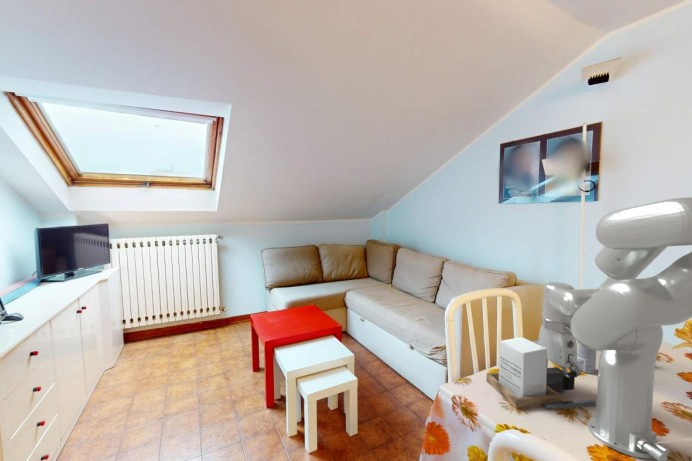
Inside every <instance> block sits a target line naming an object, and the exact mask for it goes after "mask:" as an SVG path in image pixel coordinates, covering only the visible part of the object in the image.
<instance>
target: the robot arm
mask: <svg viewBox="0 0 692 461" xmlns="http://www.w3.org/2000/svg"><path fill="white" fill-rule="evenodd" d="M595 237H596V240H597V241H598V242H599V243H600V244H601V245H602V246H604V247H602V249H601V250H600V251H599V252H598V253H597V255H596V256H595V258H594V262H595V265H596V267H597V269H599V270H600V271H601V272H602V273H603V274H604V275H606V276H607V278H606V279H605V280H604V282H602V283H601V285H600V286H598V287H597V288H583V289H582V288H581V289H575V288H574V287H573V286H572V285H570V284H567V283H564V282H553V281H552V282H547V283H545V284H544V286H543V295H542V296H543V298H542V315H541V317H542V320H541V321H542V322H541V325H540V329H539V332H538V333H539V334H538V340H532V342H533V343H536V344H538V345H540V346H542V347H545V348H547V368H549V367H548V362H551V363H552V364H554V365H556V367H558V368H561V370H562V371H563V372H564V374H565V376H563V385H562V388H563V390H564V391H573V390H575V379H576V378H578V377H579V376H581V374H582V373H583V372H582V371H583V367H582V366H581V365H580V363H579V362H578V361H577V343H576V341H578V342H579V343H580V344H581V345H583V346H584V347H586V348H588V349H591V350H596V352H600V354H599V358H598V371H597V372H598V374H597V388H596V390H597V393H596V412H595V413H596V415H594V416H590V418H588V420H587V428H588V430H589V432H590V433H591V435H593V437H595V438H596V439H597V440H598V441H600V442H601V443H603V444H604V445H605V446H607V447H609V448H610V449H613V450H615V451H617V452H619V453H621V454H624V455H627V456H629V457H635V458H638V459H639V458H640V459H656V460H657V461H667V459H668V455H669V454H670V450H669V449H668V448H667V447H665V446H664V445H662V444H660V443H659V442H658V441H657V432H655V431H654V430H652V419H653V418H652V416H653V401H654V399H653V398H654V384H655V374H656V373H655V372H656V370H655V369H656V363H657V358H658V356H659V355H658V354H659V352H660V349H661V346H662V343H663V338H664V329H663V326H673V325H678V324H683V323H684V322H686V321H688V320H689V319H691V318H692V251H690V252H688V253H687V254H683V255H682V256H681V257H679V258H678V259H676V260H675V261H673V262H672V263H671V264H670V265H669V266H668V267H666V268H665V269H664V270H662V271H660V272H659V273H658V274H656V275H655V274H654V276H651V277H644V278H637V277H639V275H640V274H642V272H644V270H645V269H647V267H648V266H650V265H651V264H652V262H654V261H655V260H656V259H657V258H658V257H659V256H660V255H661V254H662V253H663V252H664V251H665V250H666V249H667V248H668V247H680V246H692V197H676V198H669V199H664V200H659V201H654V202H650V203H646V204H640V205H636V206H632V207H626V208H619V209H616V210H613V211H611V212H608V213H606V214H605V215H604V216H603V217H602V218H601V219H599V221H598V222H597V225H596V226H595Z"/></svg>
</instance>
